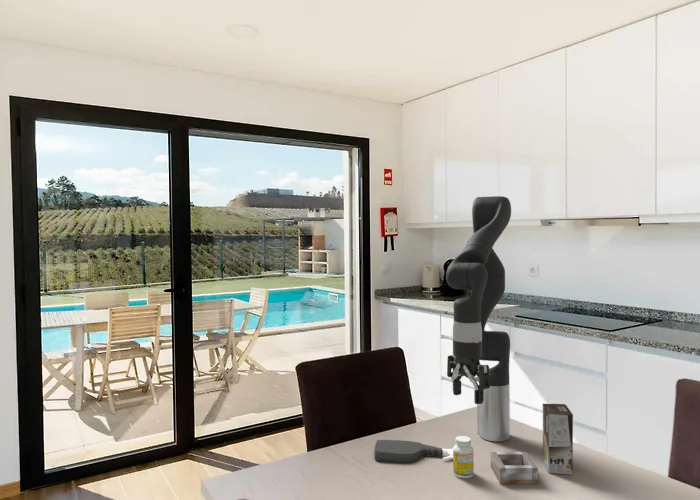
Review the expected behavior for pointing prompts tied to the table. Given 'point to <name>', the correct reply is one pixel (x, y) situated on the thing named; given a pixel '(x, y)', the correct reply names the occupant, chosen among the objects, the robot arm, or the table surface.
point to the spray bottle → (407, 451)
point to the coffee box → (558, 438)
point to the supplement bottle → (463, 457)
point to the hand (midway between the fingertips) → (467, 399)
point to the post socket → (514, 468)
